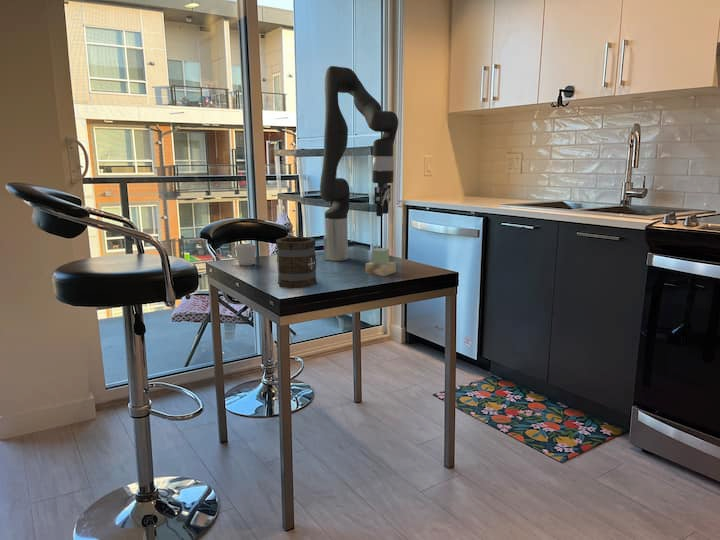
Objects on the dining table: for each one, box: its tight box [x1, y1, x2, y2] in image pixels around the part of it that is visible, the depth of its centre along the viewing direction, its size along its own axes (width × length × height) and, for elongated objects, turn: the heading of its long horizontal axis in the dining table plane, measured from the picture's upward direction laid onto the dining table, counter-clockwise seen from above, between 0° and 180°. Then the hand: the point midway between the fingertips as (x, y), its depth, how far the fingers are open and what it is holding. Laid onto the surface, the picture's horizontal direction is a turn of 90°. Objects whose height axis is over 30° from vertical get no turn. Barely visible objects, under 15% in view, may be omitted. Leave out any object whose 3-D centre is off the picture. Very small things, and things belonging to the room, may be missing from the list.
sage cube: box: [372, 247, 390, 265], centre depth 189 cm, size 5×5×5 cm
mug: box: [275, 236, 318, 289], centre depth 177 cm, size 20×14×15 cm
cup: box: [230, 243, 257, 267], centre depth 207 cm, size 11×8×8 cm
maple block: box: [365, 261, 397, 277], centre depth 191 cm, size 8×8×4 cm
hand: (382, 214), depth 189 cm, fingers open, 8 cm apart
